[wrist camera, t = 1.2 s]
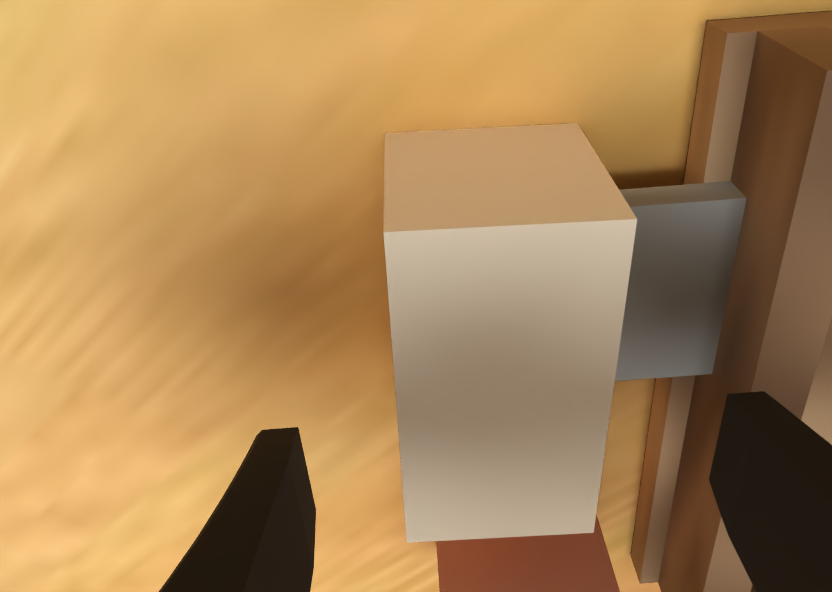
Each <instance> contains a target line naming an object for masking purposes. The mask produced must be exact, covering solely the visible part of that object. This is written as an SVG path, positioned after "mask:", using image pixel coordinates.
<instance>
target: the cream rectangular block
mask: <svg viewBox="0 0 832 592" xmlns="http://www.w3.org/2000/svg"><path fill="white" fill-rule="evenodd" d="M636 224H637V218H636V216H635V215H634V213H633V211H632V210H631V208H630V207H629V205H628V203H627V202H626V200H625V199H624V197H623V195H622V194H621V192H620V191H619V189H618V187H617V186H616V184H615V183H614V181H613V179H612V178H611V176H610V175H609V173H608V171H607V170H606V168H605V167H604V165H603V163H602V162H601V160H600V159H599V157H598V155H597V154H596V152H595V151H594V149H593V147H592V146H591V144H590V143H589V141H588V139H587V138H586V136H585V135H584V133H583V131H582V130H581V128H580V127H579V125H578V123H564V124H545V125H526V126H507V127H487V128H468V129H449V130H430V131H411V132H392V133H385V156H384V231H383V232H384V246H385V259H386V273H387V286H388V299H389V313H390V326H391V339H392V353H393V366H394V379H395V393H396V406H397V419H398V433H399V446H400V459H401V473H402V486H403V499H404V513H405V526H406V539H407V543H410V542H429V541H448V540H466V539H485V538H504V537H523V536H542V535H561V534H579V533H594V526H595V519H596V512H597V505H598V498H599V491H600V483H601V476H602V469H603V462H604V455H605V447H606V440H607V433H608V426H609V419H610V411H611V404H612V397H613V390H614V383H615V375H616V368H617V361H618V354H619V347H620V339H621V332H622V325H623V318H624V311H625V304H626V296H627V289H628V282H629V275H630V268H631V260H632V253H633V246H634V239H635V232H636Z"/></svg>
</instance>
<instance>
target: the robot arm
mask: <svg viewBox="0 0 832 592" xmlns="http://www.w3.org/2000/svg"><path fill="white" fill-rule="evenodd" d="M709 482H710V485H711V488H712V491H713V494H714V497H715V500H716V503H717V506H718V509H719V511H720V514H721V517H722V520H723V522H724V525H725V528H726V530H727V533H728V536H729V538H730V540H731V542H732V544H733V546H734V548H735V550H736V552H737V554H738V556H739V558H740V560H741V562H742V564H743V566H744V568H745V570H746V573H747V575H748V577H749V579H750V581H751V583H752V585H753V586H754V588H755V590H756V592H832V445H831V444H830V443H829V442H828V441H826V440H825V439H824V438H823V437H821V436H820V435H819V434H817V433H816V432H815V431H814V430H812V429H811V428H810V427H809V426H808V425H806V424H805V423H804V422H803V421H801V420H800V419H799V418H798V417H796V416H795V415H794V414H793V413H791V412H790V411H789V410H788V409H786V408H785V407H784V406H783V405H781V404H780V403H779V402H778V401H776V400H775V399H774V398H772V397H771V396H770V395H768V394H767V393H766V392H764V391H759V392H746V393H733V394H727V398H726V402H725V407H724V412H723V416H722V421H721V425H720V430H719V435H718V439H717V444H716V448H715V453H714V458H713V462H712V467H711V471H710V476H709ZM315 520H316V508H315V503H314V499H313V494H312V490H311V485H310V480H309V476H308V471H307V466H306V462H305V457H304V452H303V448H302V443H301V438H300V434H299V429H298V427H294V428H281V429H269V430H262V431H261V432H260V433H259V434H258V435H257V436H256V438H255V440H254V442H253V444H252V446H251V447H250V449H249V451H248V453H247V455H246V457H245V459H244V461H243V462H242V464H241V466H240V468H239V470H238V471H237V473H236V475H235V477H234V478H233V480H232V482H231V484H230V485H229V487H228V489H227V490H226V492H225V494H224V496H223V497H222V499H221V500H220V502H219V504H218V505H217V507H216V508H215V510H214V512H213V513H212V515H211V516H210V518H209V520H208V521H207V523H206V524H205V526H204V527H203V529H202V531H201V532H200V534H199V535H198V537H197V538H196V540H195V541H194V543H193V544H192V546H191V547H190V549H189V550H188V551H187V553H186V554H185V556H184V557H183V559H182V560H181V561H180V563H179V564H178V566H177V567H176V568H175V570H174V571H173V573H172V574H171V576H170V577H169V578H168V580H167V581H166V583H165V584H164V585H163V587H162V588H161V589H160V591H159V592H310V589H311V582H312V575H313V568H314V547H315Z"/></svg>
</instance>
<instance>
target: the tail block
mask: <svg viewBox="0 0 832 592" xmlns="http://www.w3.org/2000/svg"><path fill="white" fill-rule="evenodd" d="M436 544H437V558H438V573H439V587H440V592H620V591H619V587H618V584H617V581H616V578H615V574H614V571H613V568H612V564H611V561H610V558H609V554H608V551H607V548H606V545H605V541H604V538H603V535H602V531H601V528H600V525H599V522H598V518H597V515H596V519H595V526H594V533H579V534H561V535H542V536H523V537H504V538H485V539H466V540H448V541H436Z"/></svg>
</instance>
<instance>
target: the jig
mask: <svg viewBox="0 0 832 592" xmlns="http://www.w3.org/2000/svg"><path fill="white" fill-rule="evenodd" d="M619 191H620V192H621V194H622V195H623V197H624V199H625V200H626V202H627V203H628V205H629V207H630V208H631V210H632V211H633V213H634V215H635V216H636V218H637V224H636V232H635V239H634V246H633V253H632V260H631V268H630V275H629V282H628V289H627V296H626V304H625V311H624V318H623V325H622V332H621V339H620V347H619V354H618V361H617V368H616V375H615V381H625V380H638V379H652V378H656V381H655V388H654V395H653V402H652V409H651V416H650V423H649V430H648V437H647V444H646V451H645V458H644V465H643V472H642V479H641V486H640V493H639V500H638V507H637V514H636V521H635V528H634V535H633V542H632V549H631V558H632V561H633V564H634V567H635V570H636V573H637V576H638V579H639V582H640V583H653V582H658V583H659V586H660V589H661V592H756V590H755V588H754V586H753V585H752V583H751V581H750V579H749V577H748V575H747V573H746V570H745V568H744V566H743V564H742V562H741V560H740V558H739V556H738V554H737V552H736V550H735V548H734V546H733V544H732V542H731V540H730V538H729V536H728V533H727V530H726V528H725V525H724V522H723V520H722V517H721V514H720V511H719V509H718V506H717V503H716V500H715V497H714V494H713V491H712V488H711V485H710V482H709V476H710V471H711V467H712V462H713V458H714V453H715V448H716V444H717V439H718V435H719V430H720V425H721V421H722V416H723V412H724V407H725V402H726V398H727V394H733V393H746V392H759V391H764V392H766V393H767V394H768V395H770V396H771V397H772V398H774V399H775V400H776V401H778V402H779V403H780V404H781V405H783V406H784V407H785V408H786V409H788V410H789V411H790V412H791V413H793V414H794V415H795V416H796V417H798V418H799V419H800V420H801V421H803V422H804V423H805V424H806V425H808V426H809V427H810V428H811V429H812V430H814V431H815V432H816V433H817V434H819V435H820V436H821V437H823V438H824V439H825V440H826V441H828V442H829V443H830V444H831V445H832V11H823V12H811V13H798V14H786V15H774V16H761V17H749V18H736V19H724V20H711V21H707V23H706V30H705V37H704V44H703V51H702V58H701V65H700V72H699V79H698V86H697V93H696V100H695V107H694V114H693V121H692V128H691V135H690V142H689V150H688V157H687V164H686V171H685V178H684V185H672V186H659V187H647V188H634V189H621V190H619Z"/></svg>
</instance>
